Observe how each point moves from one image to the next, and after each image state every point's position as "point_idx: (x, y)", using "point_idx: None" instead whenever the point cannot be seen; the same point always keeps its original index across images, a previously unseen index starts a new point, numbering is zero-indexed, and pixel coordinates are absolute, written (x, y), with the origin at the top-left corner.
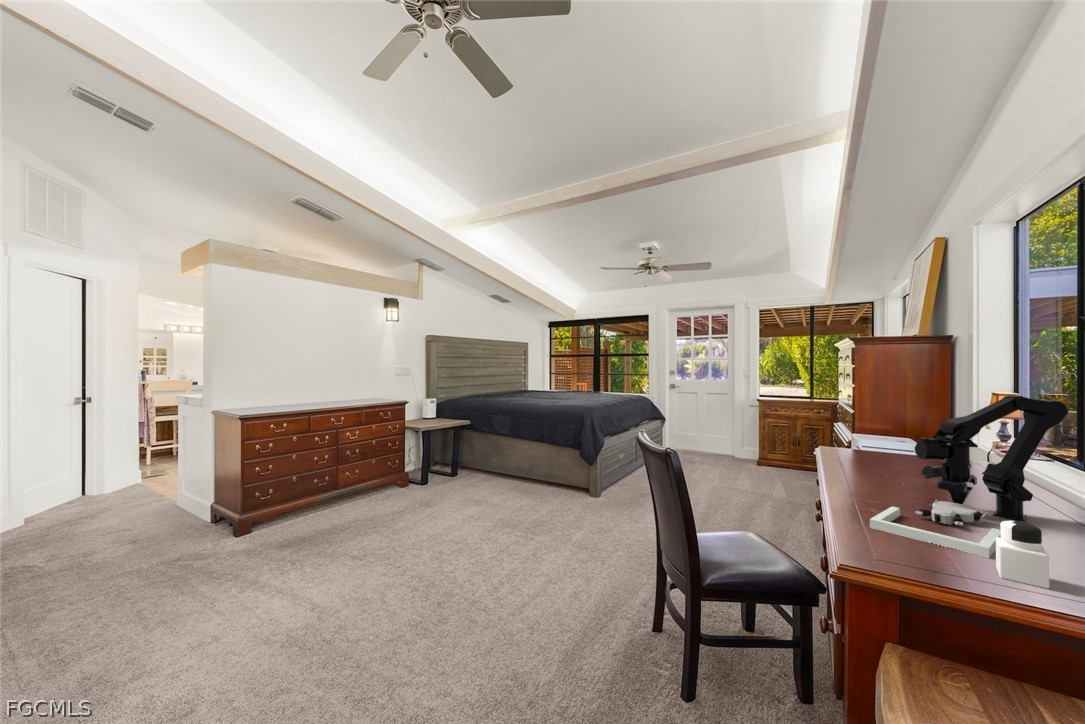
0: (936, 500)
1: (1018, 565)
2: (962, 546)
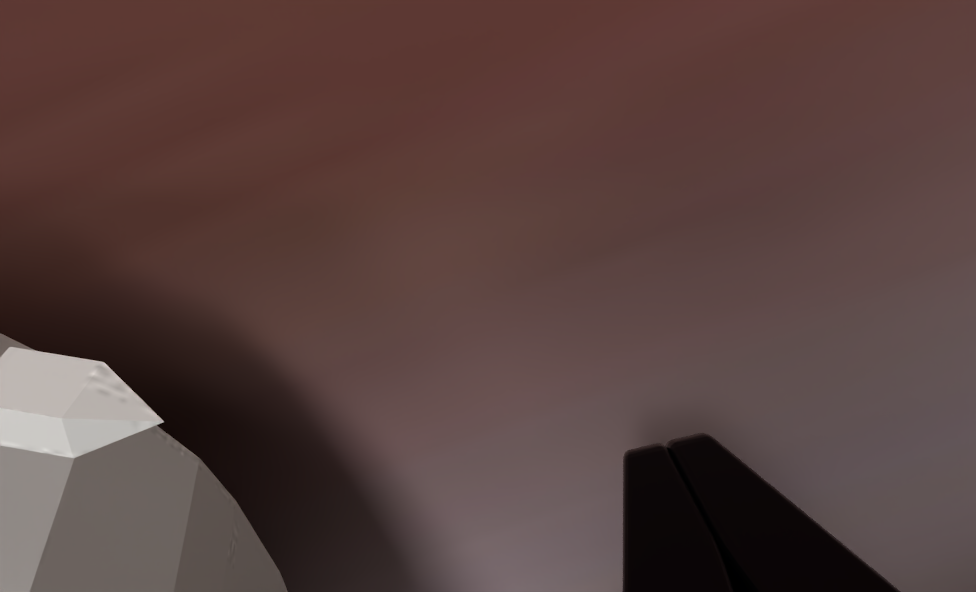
0: (10, 434)
1: None
2: None
